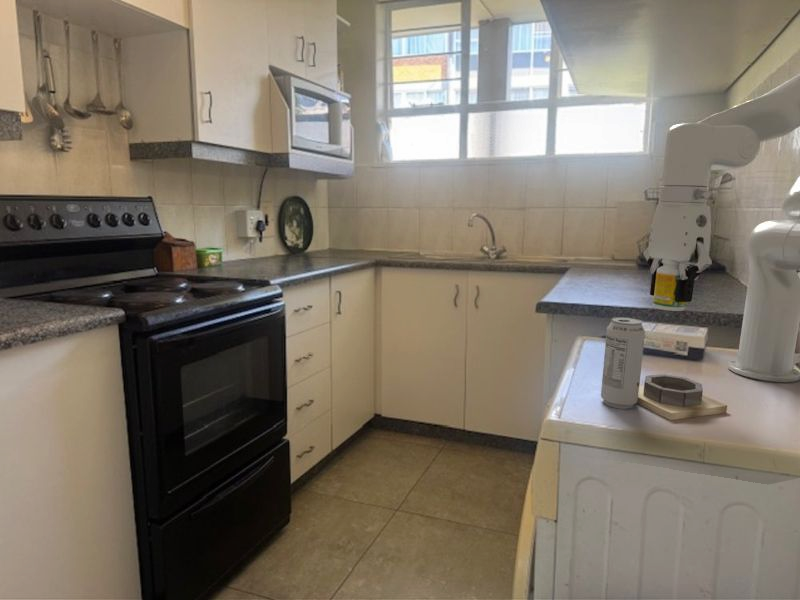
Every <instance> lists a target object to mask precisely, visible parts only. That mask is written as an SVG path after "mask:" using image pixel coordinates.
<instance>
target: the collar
mask: <svg viewBox="0 0 800 600" xmlns="http://www.w3.org/2000/svg"><path fill="white" fill-rule="evenodd" d="M643 384H644V385H639V393H638V402H637V403H636V404H637V405H639V406H640V407H643V408H645V409H647V410H649V411H651V412H653V413H655V414H657V415H659V416H660V417H663V418H665V419H667V420H669V421H675V420H682V419H683V420H684V419H689V418H696V417H703V416H708V415H709V416H710V415H711V416H712V415H717V414H724V413H727V412H728V411H727V410H728V405H727V404H724V403H722V402H720V401H718V400H714V399H712V398H710V397H708V396H706V395H703V392H704V390H703V389H704V388H703V384H702V383H700V382H697V381H695V380H692V379H690V378H688V377H684V376H679V375H678V376H677V375H671V374H666V373H665V374H664V373H663V374H662V373H661V374H660V373H659V374H652V375H645V378H644V383H643Z"/></svg>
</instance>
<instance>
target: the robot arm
mask: <svg viewBox="0 0 800 600" xmlns="http://www.w3.org/2000/svg"><path fill="white" fill-rule="evenodd" d="M799 127H800V73H798V74H797V75H795V76H793V77H792V78H790V79H788V80H787V81H785V82H784V83H781V84H780V85H779V86H777V87H775V88H773V89H771V90H769V91H768V92H766V93H765V94H762V95H760V96H757V97H756V98H752V99H750V100H747V101H744V102H741V103H740V104H737V105H735V106H732V107H730V108H727V109H725V110H722V111H720V112H717V113H715V114H712V115H710V116H708V117H705V118H704V119H702V120H700V121H698V122H686V123H685V122H684V123H678V124H674V125H672V126H670V127H669V129H668V131H667V133H666V138H665V148H664V154H663V163H662V165H663V166H662V173H661V180H660V182H661V183H660V189H659V197H658V204H657V206H656V208H655V211H654V215H653V219H652V223H651V227H650V228H651V229H650V234H649V240H648V246H647V247H646V248H645V250H644V251H643V257H644V258H645V260H646V262H647V264H648V266H649V273H650V274H651V279H650V280H651V282H650V288H649V295H650V296H653V297H654V291H655V283H656V273H657V269H658V268H659V267H661V266H663V263H662V259H664V257H667V258H668V259H669V260H671V261H673V262H679V270H680V278H681V279H677V285H676V292H675V301H676V302H686V303H691V302H692V300H693V296H694V295H693V293H694V287H695V286H694V285H695V281H697V280H698V279H699V276H700V275H702V274H703V273H704V271H705V270H706V269H707V268H709V267H710V266H712V264H713V262H712V259H711V257H710V251H711V250H710V248H711V239H712V238H711V237H712V235H711V234H712V230H711V229H712V216H711V208H710V206H709V205H707V202H708V200H707V199H709V198H710V197H711V192H710V190H709V186H710V179H711V173H712V171H725V170H726V171H728V170H729V171H731V170H736V169H737V170H738V169H741V168H744V167H746V166H748V165H749V164H751V163H753V162H754V160H755V159H756V158H757V156H758V154H759V152H760V150H761V143H765V142H768V141H772V140H775V139H778V138H782V137H785V136H786V135H789V134H790V133H792V132H794V131H795V130H796V129H799ZM781 211H782V214H783V216H784V217H785V218H786V219H771V220H766V221H763V222H761V223H759V224H758V225H756V226H755V227H754V228H753V229H752V231H751V232H750V234H749V236H748V239H747V255H748V281H747V289H746V297H745V303H744V309H743V318H742V323H741V324H742V325H741V330H740V332H741V333H740V338H739V346H738V351H737V352H738V353H737V357H736V358H734V359H731V360H729V361H728V362H727V368H728V369H729V370H730V372H731V371H732V372H733V373H735V374H736V375H741V376H744V377H746V378H751V379H754V380H755V379H756V380H759V381H764V382H765V381H766V382H774V383H794V382H797V381H800V371H799V370H797V369H796V368H795V365H796V364H800V353H795V351H796V346H797V340H798V335H799V334H798V333H799V326H800V276H799V273H798V271H799V272H800V174H799V175H798V176H797V178H796V179H795V181H794V182H793V184H792V186H791V187H790V189H789V190H788V192H787V193H786V195H785V196H784V199H783V202H782V206H781ZM687 269H688V271H687Z"/></svg>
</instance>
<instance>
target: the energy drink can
mask: <svg viewBox="0 0 800 600" xmlns="http://www.w3.org/2000/svg"><path fill="white" fill-rule="evenodd" d="M642 323H643V320H641V319H637V318H633V317H627V316H619V317H617V316H615V317H612V318H611V322H610V324H609V325H607V327H606V335H605V336H606V337H605V349H604V356H603V357H604V358H603V368H602V378H601V379H602V380H601V390H600V397H601V399H602V400H603V403H604V404H605V405H606V406H609V407H611V408H614V409H621V410H623V409H624V410H627V409H628V408H629V409H632V408H634V405H635V404H637V402H638V393H639V386H640V381H641V373H642V366H643V365H642V364H643V356H644V345H645V338H646V337H645V336H646V331H645V328H644V327H643V324H642Z"/></svg>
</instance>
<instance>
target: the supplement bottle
mask: <svg viewBox="0 0 800 600" xmlns="http://www.w3.org/2000/svg"><path fill="white" fill-rule="evenodd" d="M662 263H663V266H661V267H659V268H658V269H657V273H656V283H655V291H654V296H653V303H652V305H653V307H654V308H655V309H658V310H662V311H663V310H664V311H670V312H671V311H672V312H680V311H681V312H682V311H683V310H685V308H686V304H687V302H676V301H675V292H676V285H677V279H681V278H680V270H679V262H673V261H671V260H669V259H668V258H667V257H664V259H662V262H661V264H662ZM688 270H689V268H687V271H688Z"/></svg>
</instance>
